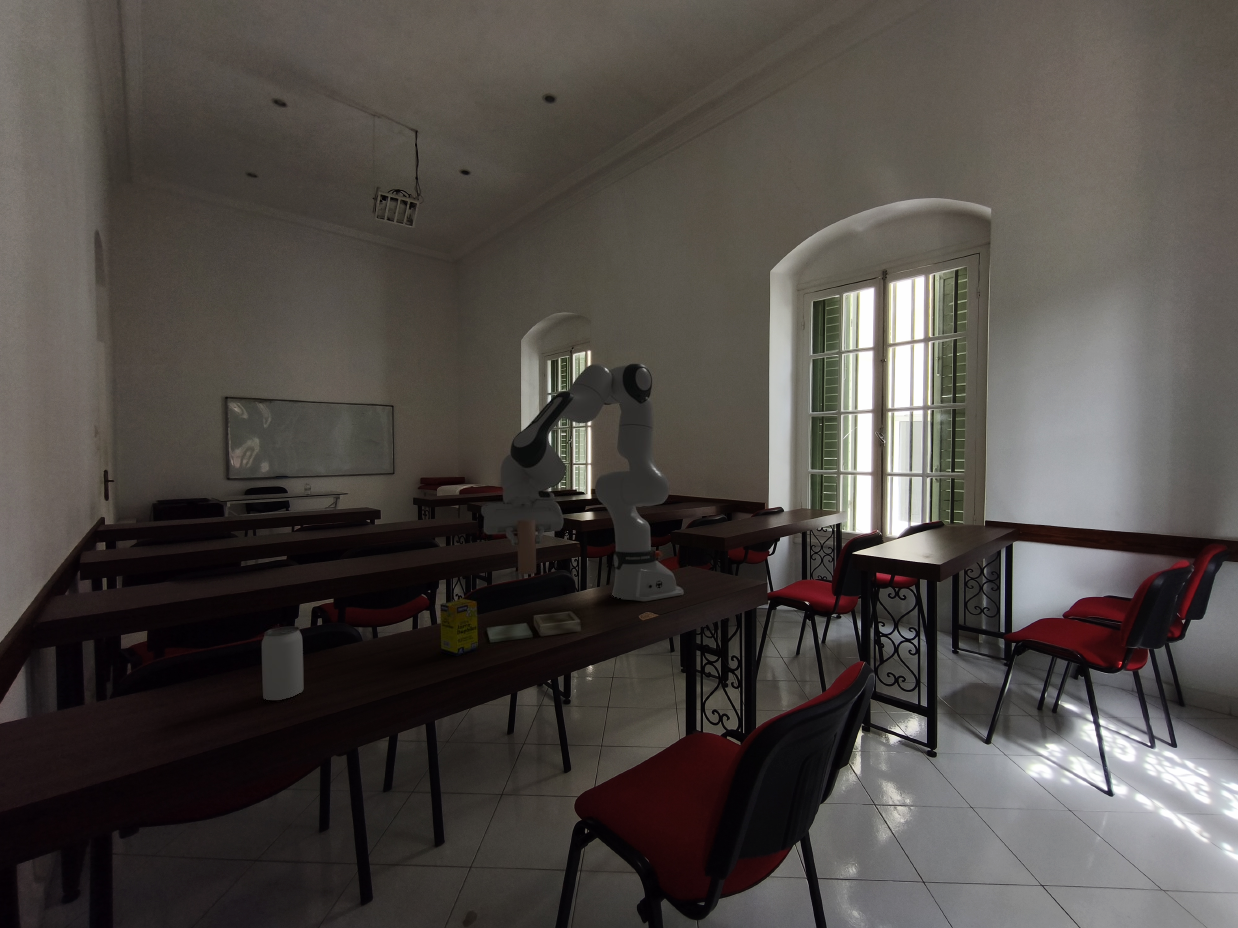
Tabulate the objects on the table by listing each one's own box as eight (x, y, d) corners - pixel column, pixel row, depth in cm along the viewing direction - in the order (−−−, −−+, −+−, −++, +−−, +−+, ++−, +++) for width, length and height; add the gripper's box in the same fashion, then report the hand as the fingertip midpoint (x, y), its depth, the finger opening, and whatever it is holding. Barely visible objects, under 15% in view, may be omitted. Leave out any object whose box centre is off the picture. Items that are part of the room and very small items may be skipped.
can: (281, 687, 106) (280, 625, 106) (311, 688, 105) (310, 625, 105) (254, 701, 100) (252, 635, 100) (285, 703, 99) (283, 636, 99)
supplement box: (457, 656, 121) (455, 607, 121) (440, 651, 124) (439, 603, 124) (478, 649, 125) (477, 601, 125) (462, 644, 129) (461, 598, 129)
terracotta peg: (534, 570, 140) (533, 519, 140) (537, 573, 136) (536, 520, 136) (517, 571, 139) (516, 520, 139) (519, 574, 134) (518, 521, 135)
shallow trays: (571, 620, 146) (571, 611, 146) (580, 631, 137) (580, 621, 137) (486, 630, 139) (486, 620, 139) (490, 642, 130) (490, 631, 130)
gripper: (481, 495, 141) (484, 537, 131) (559, 492, 147) (568, 532, 138) (480, 511, 145) (483, 553, 136) (556, 508, 151) (564, 548, 142)
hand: (527, 543), depth 137 cm, fingers closed on terracotta peg, 4 cm apart
